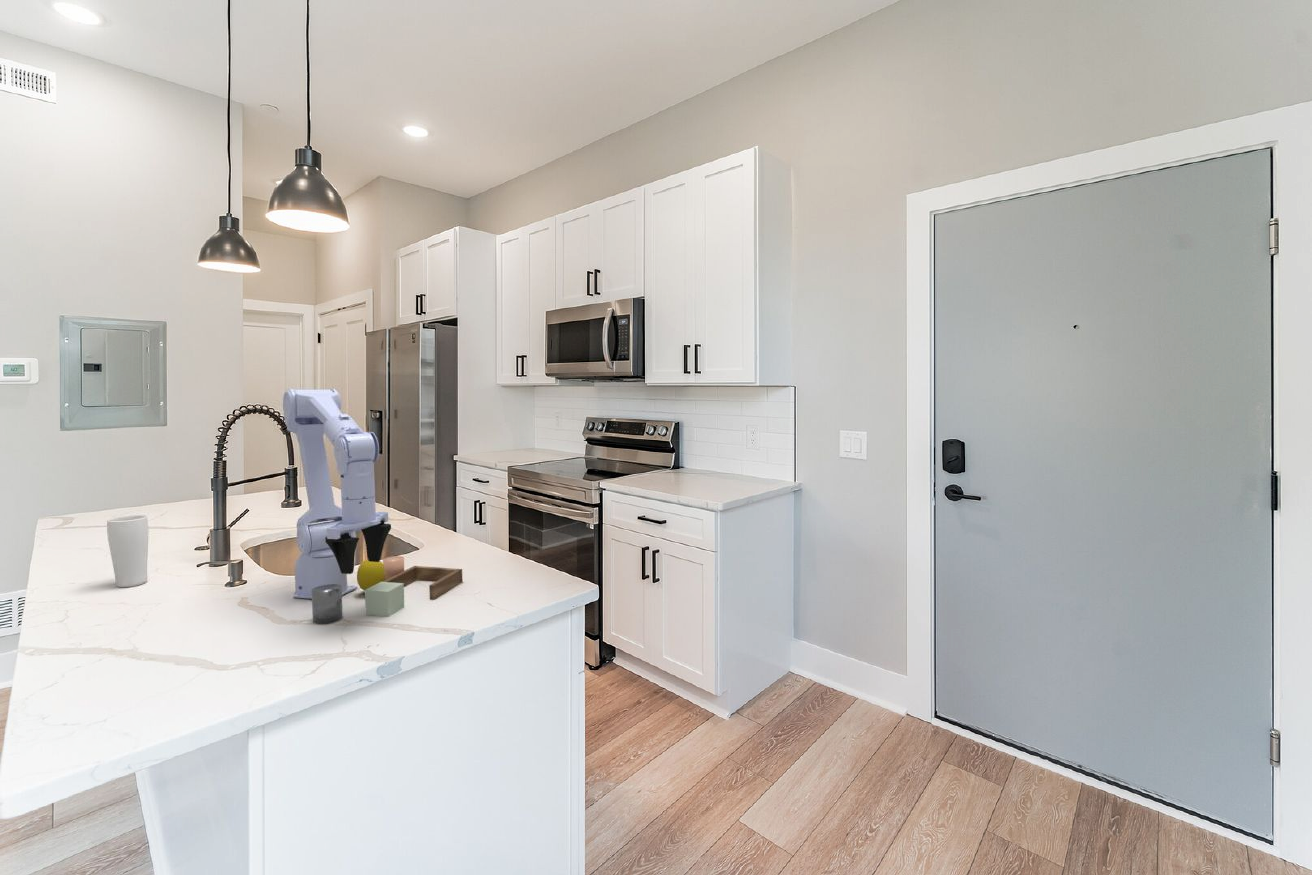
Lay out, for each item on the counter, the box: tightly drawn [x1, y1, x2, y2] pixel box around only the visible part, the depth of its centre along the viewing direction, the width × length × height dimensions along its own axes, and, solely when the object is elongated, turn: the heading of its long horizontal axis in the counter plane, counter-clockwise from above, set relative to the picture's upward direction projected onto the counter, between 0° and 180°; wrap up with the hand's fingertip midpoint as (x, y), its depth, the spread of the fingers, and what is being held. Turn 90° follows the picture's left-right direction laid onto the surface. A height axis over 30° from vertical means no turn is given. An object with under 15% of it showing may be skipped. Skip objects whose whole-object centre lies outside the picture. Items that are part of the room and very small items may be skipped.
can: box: [311, 584, 344, 625], centre depth 113 cm, size 5×5×6 cm
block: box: [364, 582, 405, 617], centre depth 118 cm, size 5×5×5 cm
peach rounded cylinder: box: [382, 555, 405, 580], centre depth 136 cm, size 4×4×5 cm
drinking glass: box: [106, 514, 149, 588], centre depth 132 cm, size 7×7×15 cm
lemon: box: [356, 558, 386, 592], centre depth 127 cm, size 6×6×8 cm
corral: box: [383, 565, 463, 601], centre depth 131 cm, size 12×12×3 cm
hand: (361, 567), depth 113 cm, fingers open, 7 cm apart
